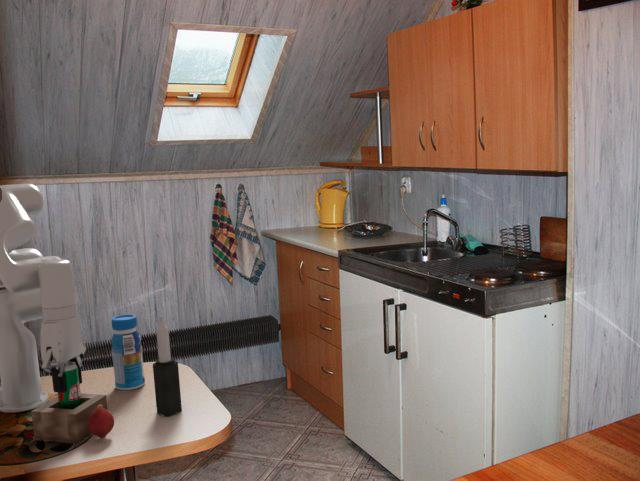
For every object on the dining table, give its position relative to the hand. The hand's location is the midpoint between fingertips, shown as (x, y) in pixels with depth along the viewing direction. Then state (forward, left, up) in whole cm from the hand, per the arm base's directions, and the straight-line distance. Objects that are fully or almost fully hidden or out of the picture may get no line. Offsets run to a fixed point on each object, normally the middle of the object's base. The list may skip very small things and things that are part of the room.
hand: (68, 386), depth 157 cm
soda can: (0, 0, -7) cm, 7 cm away
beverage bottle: (-3, +30, -11) cm, 32 cm away
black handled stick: (+18, +15, -11) cm, 26 cm away
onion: (+10, -2, -11) cm, 15 cm away
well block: (0, 0, -11) cm, 11 cm away
